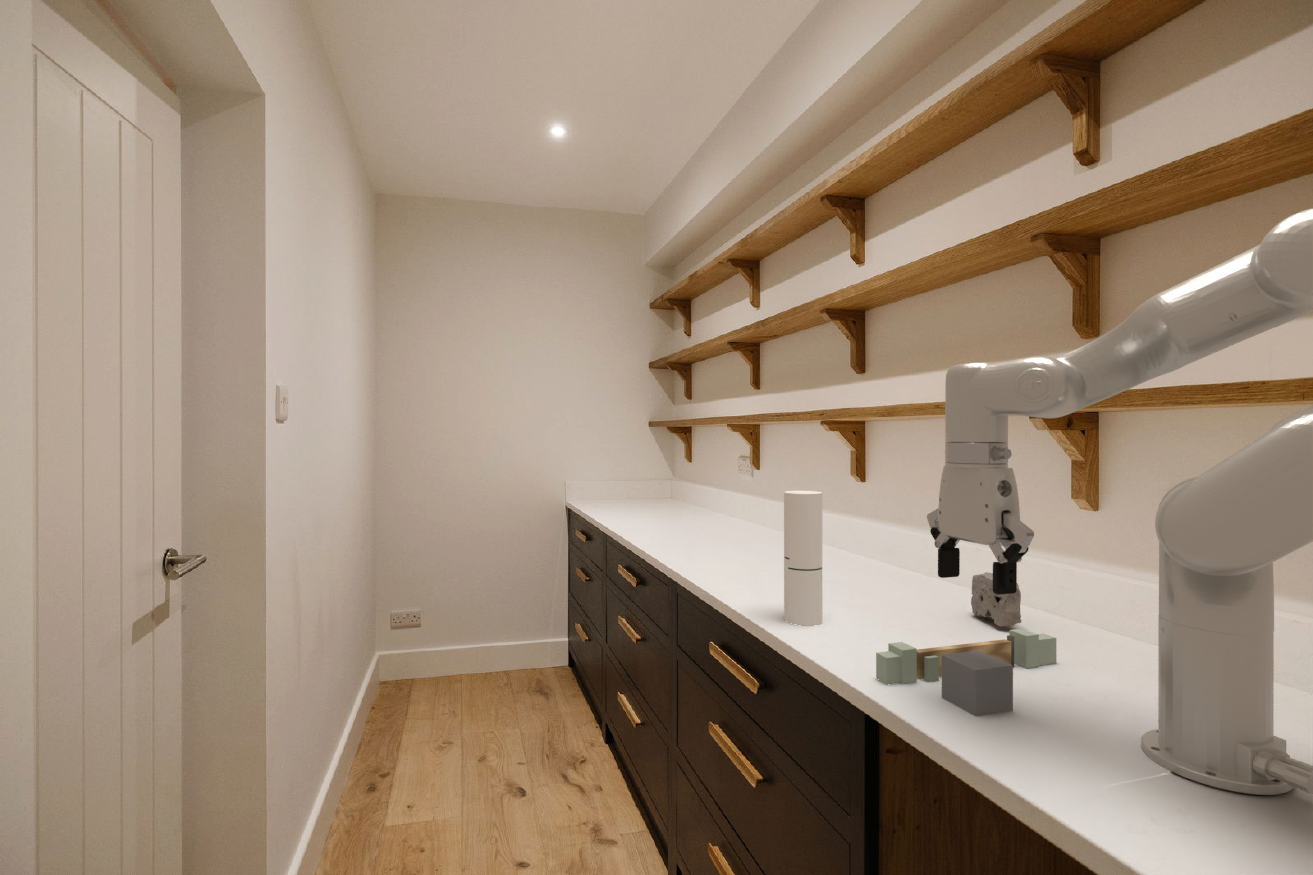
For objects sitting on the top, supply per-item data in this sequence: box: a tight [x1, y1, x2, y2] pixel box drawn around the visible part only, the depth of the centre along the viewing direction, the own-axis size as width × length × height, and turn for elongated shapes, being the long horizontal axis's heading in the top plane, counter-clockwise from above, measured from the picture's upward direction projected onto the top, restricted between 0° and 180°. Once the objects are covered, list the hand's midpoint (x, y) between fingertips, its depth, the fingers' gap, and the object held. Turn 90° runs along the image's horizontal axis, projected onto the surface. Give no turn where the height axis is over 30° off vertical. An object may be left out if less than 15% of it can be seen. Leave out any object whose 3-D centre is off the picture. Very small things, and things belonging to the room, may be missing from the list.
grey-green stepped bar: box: [875, 628, 1057, 685], centre depth 98 cm, size 3×31×5 cm, turn 107°
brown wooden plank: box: [917, 635, 1015, 680], centre depth 98 cm, size 18×3×5 cm, turn 107°
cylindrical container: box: [783, 490, 823, 627], centre depth 123 cm, size 7×7×25 cm
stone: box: [970, 572, 1022, 627], centre depth 123 cm, size 13×6×10 cm, turn 173°
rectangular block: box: [941, 651, 1014, 717], centre depth 86 cm, size 6×6×6 cm
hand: (975, 584), depth 86 cm, fingers open, 9 cm apart
